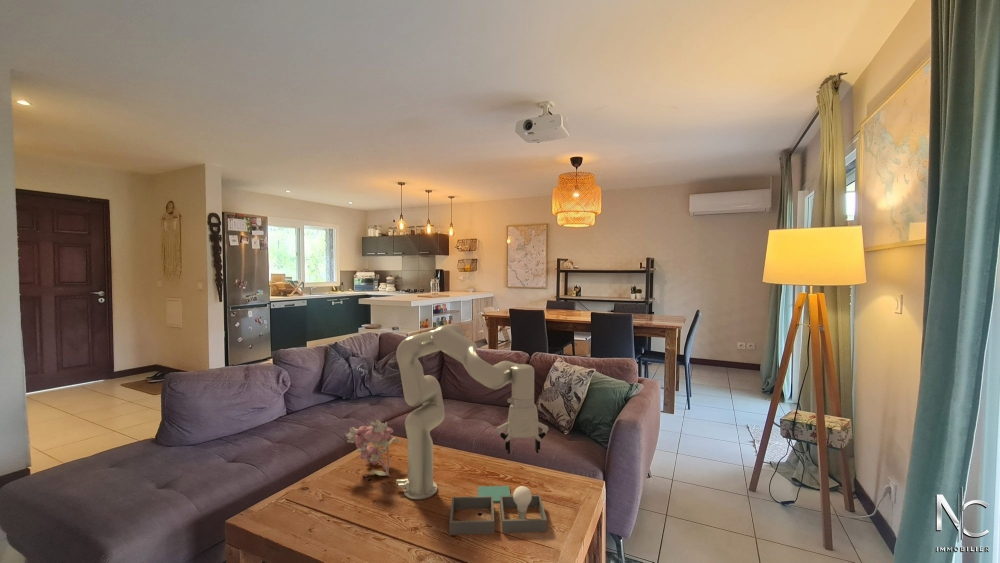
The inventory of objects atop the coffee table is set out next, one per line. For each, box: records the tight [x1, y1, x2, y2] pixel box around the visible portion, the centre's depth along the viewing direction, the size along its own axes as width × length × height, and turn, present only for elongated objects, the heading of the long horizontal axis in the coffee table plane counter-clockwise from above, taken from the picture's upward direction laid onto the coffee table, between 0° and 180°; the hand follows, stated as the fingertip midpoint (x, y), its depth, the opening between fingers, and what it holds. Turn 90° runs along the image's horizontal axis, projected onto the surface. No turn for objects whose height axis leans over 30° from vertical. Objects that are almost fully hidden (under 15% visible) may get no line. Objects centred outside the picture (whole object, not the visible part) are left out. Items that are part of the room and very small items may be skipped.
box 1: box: [448, 496, 495, 536], centre depth 140 cm, size 14×14×4 cm
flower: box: [344, 419, 403, 477], centre depth 173 cm, size 20×22×25 cm
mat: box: [477, 485, 511, 504], centre depth 155 cm, size 12×10×1 cm
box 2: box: [499, 494, 548, 534], centre depth 141 cm, size 14×14×4 cm
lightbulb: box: [512, 485, 533, 519], centre depth 140 cm, size 6×6×11 cm
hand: (522, 451), depth 140 cm, fingers open, 9 cm apart
